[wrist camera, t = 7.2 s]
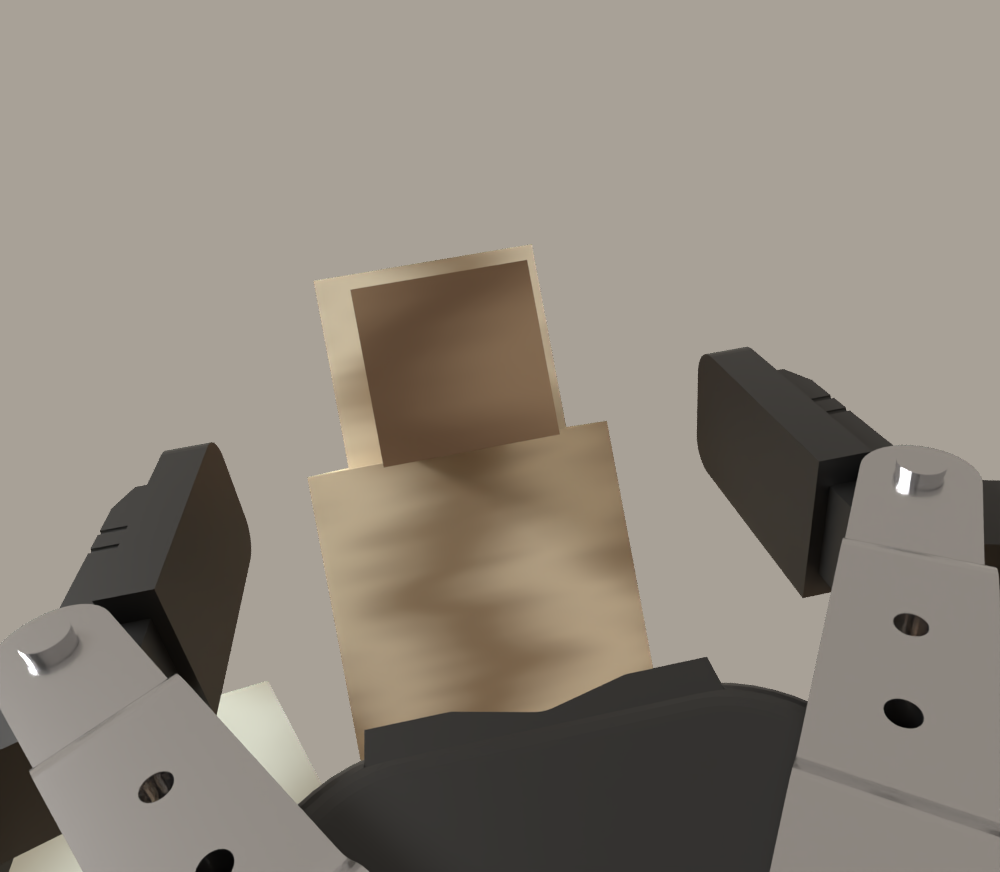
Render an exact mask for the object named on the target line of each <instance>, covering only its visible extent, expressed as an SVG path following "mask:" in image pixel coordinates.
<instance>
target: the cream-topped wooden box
mask: <svg viewBox="0 0 1000 872" xmlns="http://www.w3.org/2000/svg"><path fill="white" fill-rule="evenodd" d="M217 716H218V718H219V719H220V720H221V721H222V722H223V723H224V724H225V725H226V726H227V727H228V729H229V730H230V731H231V732H232V733H233V734H234V735H235V736H236V737H237V739H238V740H239V741H240V742H241V743H242V744H243V745H244V746H245V747H246V748H247V750H248V751H249V752H250V753H251V754H252V755H253V756H254V757H255V758H256V759H257V761H258V762H259V763H260V764H261V765H262V766H263V767H264V768H265V769H266V770H267V772H268V773H269V774H270V775H271V776H272V777H273V778H274V779H275V780H276V781H277V783H278V784H279V785H280V786H281V787H282V788H283V789H284V790H285V791H286V792H287V794H288V795H289V796H290V797H291V798H292V799H293V800H294V801H295V802H296V804H297V805H298V804H299V803H300V802H301V801H302V800H303V799H304V798H305V797H307V796H308V795H309V794H310V793H311V792H312V791H314V790H315V789H316V788H318V787H319V786H320V785H322V784H321V782H320V780H319V778H318V776H317V774H316V772H315V770H314V769H313V766H312V765H311V763H310V761H309V759H308V757H307V755H306V753H305V752H304V749H303V747H302V745H301V744H300V741H299V740H298V738H297V736H296V734H295V732H294V730H293V728H292V726H291V724H290V722H289V720H288V718H287V717H286V715H285V713H284V711H283V709H282V707H281V705H280V703H279V701H278V700H277V697H276V696H275V693H274V692H273V690H272V688H271V686H270V684H269V682H268V681H265V682H262V683H259V684H255V685H252V686H248V687H245V688H242V689H239V690H235V691H232V692H229V693H225V694H222V695H221V698H220V703H219V707H218V712H217ZM9 872H83V871H82V870H81V868H80V866H79V864H78V862H77V860H76V858H75V857H74V855H73V853H72V851H71V849H70V847H69V846H68V844H67V842H66V840H65V838H64V836H63V834H61V835H59V836H57V837H55V838H53V839H51V840H49V841H47V842H45V843H43V844H41V845H39V846H37V847H35V848H33V849H31V850H29V851H27V852H25V853H23V854H21V855H19V856H17V857H15V858H14V859H13V862H12V865H11V867H10V870H9Z"/></svg>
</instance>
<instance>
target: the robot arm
mask: <svg viewBox="0 0 1000 872" xmlns="http://www.w3.org/2000/svg"><path fill="white" fill-rule="evenodd" d="M697 408H698V409H697V442H698V449H699V454H700V457H701V460H702V463H703V465H704V467H705V469H706V471H707V472H708V474H709V475H710V476H711V478H712V479H713V480H714V482H715V483H716V484H717V486H718V487H719V488H720V490H721V491H722V492H723V494H724V495H725V496H726V497H727V499H728V500H729V501H730V503H731V504H732V505H733V507H734V508H735V509H736V511H737V512H738V513H739V515H740V516H741V517H742V519H743V520H744V521H745V523H746V524H747V525H748V526H749V528H750V529H751V530H752V532H753V533H754V534H755V536H756V537H757V538H758V540H759V541H760V542H761V544H762V545H763V546H764V548H765V549H766V550H767V551H768V553H769V554H770V555H771V556H772V558H773V559H774V561H775V562H776V563H777V564H778V566H779V567H780V569H782V571H783V573H784V574H785V575H786V577H787V578H788V579H789V580H790V582H791V583H792V584H793V586H794V587H795V588H796V590H797V591H798V592H799V594H800V595H801V596H802V598H805V597H810V596H815V595H820V594H824V593H829V592H831V595H830V600H829V605H828V609H827V614H826V619H825V623H824V628H823V633H822V638H821V642H820V647H819V652H818V657H817V661H816V666H815V671H814V675H813V680H812V685H811V689H810V694H809V699H808V701H805V700H803V699H800V698H798V697H795V696H792V695H789V694H786V693H783V692H779V691H776V690H773V689H767V688H763V687H758V686H753V685H745V684H736V683H721V682H720V680H719V678H718V677H717V675H716V673H715V671H714V670H713V667H712V665H711V664H710V662H709V660H708V658H707V657H704V658H699V659H695V660H690V661H686V662H681V663H676V664H671V665H667V666H662V667H658V668H653V669H648V670H643V671H638V672H634V673H629V674H625V675H623V676H620V677H618V678H616V679H614V680H612V681H610V682H608V683H605V684H603V685H601V686H599V687H597V688H595V689H592V690H590V691H588V692H586V693H584V694H582V695H580V696H577V697H575V698H573V699H571V700H569V701H567V702H565V703H562V704H560V705H558V706H556V707H554V708H551V709H549V710H546V711H541V712H447V713H442V714H437V715H433V716H428V717H423V718H419V719H414V720H409V721H404V722H400V723H395V724H390V725H386V726H381V727H376V728H372V729H367V730H364V760H362V761H360V762H358V763H356V764H354V765H352V766H350V767H348V768H347V769H345V770H343V771H341V772H340V773H338V774H336V775H335V776H333V777H331V778H330V779H329V780H327V781H326V782H325V783H323V784H322V785H320V786H319V787H318V788H316V789H315V790H314V791H312V792H311V793H310V794H309V795H308V796H307V797H305V798H304V799H303V800H302V801H301V802H300V803H299V804H298V805H297V804H296V802H295V801H294V800H293V799H292V798H291V797H290V796H289V795H288V794H287V792H286V791H285V790H284V789H283V788H282V787H281V786H280V785H279V784H278V783H277V781H276V780H275V779H274V778H273V777H272V776H271V775H270V774H269V773H268V772H267V770H266V769H265V768H264V767H263V766H262V765H261V764H260V763H259V762H258V761H257V759H256V758H255V757H254V756H253V755H252V754H251V753H250V752H249V751H248V750H247V748H246V747H245V746H244V745H243V744H242V743H241V742H240V741H239V740H238V739H237V737H236V736H235V735H234V734H233V733H232V732H231V731H230V730H229V729H228V727H227V726H226V725H225V724H224V723H223V722H222V721H221V720H220V719H219V718H218V716H217V712H218V707H219V703H220V698H221V693H222V689H223V684H224V679H225V675H226V670H227V665H228V661H229V656H230V651H231V647H232V642H233V637H234V633H235V628H236V624H237V619H238V614H239V610H240V605H241V600H242V596H243V591H244V586H245V582H246V577H247V573H248V568H249V563H250V558H251V540H250V533H249V528H248V524H247V521H246V518H245V515H244V513H243V510H242V507H241V504H240V502H239V499H238V497H237V494H236V491H235V488H234V485H233V483H232V480H231V477H230V475H229V472H228V469H227V466H226V464H225V461H224V458H223V456H222V453H221V451H220V450H219V448H218V447H217V445H216V444H215V443H212V442H211V443H206V444H201V445H195V446H189V447H184V448H178V449H173V450H167V451H164V452H163V453H162V455H161V457H160V459H159V461H158V463H157V465H156V467H155V470H154V472H153V474H152V476H151V478H150V480H149V482H148V484H147V485H144V486H139V487H135V488H134V489H133V490H132V491H130V492H129V493H128V494H127V495H126V496H125V497H124V498H123V499H122V500H121V501H120V502H118V503H117V504H116V505H115V506H114V507H113V508H112V509H111V511H110V513H109V515H108V517H107V519H106V521H105V522H104V524H103V526H102V528H101V530H100V532H101V535H98V536H97V538H96V540H95V542H94V543H93V545H92V547H91V553H90V554H88V555H87V557H86V559H85V561H84V562H83V564H82V566H81V568H80V570H79V572H78V574H77V576H76V578H75V580H74V582H73V583H72V585H71V587H70V589H69V591H68V593H67V595H66V597H65V599H64V601H63V603H62V605H61V607H60V608H59V609H56V610H53V611H50V612H48V613H45V614H43V615H41V616H39V617H37V618H35V619H33V620H31V621H30V622H28V623H26V624H25V625H23V626H21V627H20V628H19V629H17V630H16V631H14V632H13V633H12V634H11V635H9V636H8V637H7V638H6V639H5V640H4V641H3V642H2V643H1V644H0V872H9V870H10V867H11V865H12V862H13V859H14V858H15V857H17V856H19V855H21V854H23V853H25V852H27V851H29V850H31V849H33V848H35V847H37V846H39V845H41V844H43V843H45V842H47V841H49V840H51V839H53V838H55V837H57V836H59V835H61V834H63V836H64V838H65V840H66V842H67V844H68V846H69V847H70V849H71V851H72V853H73V855H74V857H75V858H76V860H77V862H78V864H79V866H80V868H81V870H82V871H83V872H1000V481H988V480H982V478H981V476H980V474H979V473H978V471H977V470H976V469H975V468H974V467H973V466H972V465H970V464H969V463H968V462H966V461H964V460H963V459H961V458H959V457H957V456H955V455H953V454H950V453H948V452H945V451H941V450H938V449H934V448H929V447H923V446H914V445H896V446H893V445H892V444H891V443H889V442H888V441H887V440H886V439H884V438H883V437H882V436H881V435H879V434H878V433H877V432H876V431H874V430H873V429H872V428H870V427H869V426H868V425H867V424H866V423H865V422H863V421H862V420H861V419H859V418H858V417H857V416H856V415H854V414H853V413H852V412H851V411H846V408H845V406H843V405H842V404H841V403H840V402H838V401H837V400H836V399H835V398H832V399H831V397H830V394H828V393H827V392H826V391H825V390H823V389H822V388H821V387H820V386H818V385H817V384H816V383H814V382H813V381H812V380H810V379H808V378H805V377H802V376H800V375H797V374H795V373H792V372H789V371H787V370H784V369H782V370H776V369H775V368H774V367H773V366H771V365H770V364H769V363H768V362H767V361H765V360H764V359H763V358H762V357H761V356H759V355H758V354H757V353H756V352H754V350H752V349H751V348H749V347H743V348H738V349H732V350H727V351H722V352H716V353H710V354H705V355H703V356H702V357H701V359H700V362H699V368H698V407H697Z"/></svg>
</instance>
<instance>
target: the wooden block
mask: <svg viewBox="0 0 1000 872" xmlns="http://www.w3.org/2000/svg"><path fill="white" fill-rule="evenodd" d="M559 432H560V434H559V435H554V436H548V437H543V438H538V439H532V440H527V441H522V442H516V443H511V444H506V445H501V446H495V447H490V448H485V449H479V450H474V451H469V452H464V453H458V454H453V455H448V456H442V457H437V458H432V459H427V460H421V461H416V462H411V463H405V464H400V465H395V466H390V467H384V466H383V463H379V464H374V465H368V466H363V467H358V468H353V469H349V468H346V469H342V470H337V471H333V472H329V473H325V474H320V475H316V476H311V477H308V483H309V488H310V493H311V499H312V504H313V509H314V514H315V520H316V525H317V531H318V536H319V541H320V547H321V552H322V557H323V563H324V568H325V573H326V578H327V583H328V589H329V594H330V599H331V605H332V610H333V616H334V621H335V626H336V632H337V637H338V642H339V648H340V653H341V658H342V664H343V669H344V674H345V679H346V685H347V690H348V695H349V701H350V706H351V711H352V717H353V722H354V726H355V733H356V738H357V743H358V749H359V754H360V759H361V761H362V760H364V730H367V729H372V728H376V727H381V726H386V725H390V724H395V723H400V722H404V721H409V720H414V719H419V718H423V717H428V716H433V715H437V714H442V713H447V712H541V711H546V710H549V709H551V708H554V707H556V706H558V705H560V704H562V703H565V702H567V701H569V700H571V699H573V698H575V697H577V696H580V695H582V694H584V693H586V692H588V691H590V690H592V689H595V688H597V687H599V686H601V685H603V684H605V683H608V682H610V681H612V680H614V679H616V678H618V677H620V676H623V675H625V674H629V673H634V672H638V671H643V670H648V669H653V665H652V660H651V655H650V649H649V644H648V638H647V633H646V628H645V622H644V617H643V612H642V607H641V601H640V596H639V590H638V585H637V580H636V575H635V569H634V564H633V559H632V553H631V548H630V542H629V537H628V532H627V526H626V521H625V516H624V510H623V505H622V500H621V495H620V489H619V484H618V479H617V473H616V468H615V462H614V457H613V452H612V446H611V441H610V436H609V431H608V425H607V421H604V422H597V423H590V424H584V425H577V426H570V427H566V428H565V429H559Z"/></svg>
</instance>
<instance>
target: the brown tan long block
mask: <svg viewBox="0 0 1000 872" xmlns="http://www.w3.org/2000/svg"><path fill="white" fill-rule="evenodd" d="M314 285H315V291H316V296H317V302H318V307H319V312H320V318H321V323H322V328H323V333H324V339H325V344H326V349H327V355H328V360H329V365H330V371H331V376H332V381H333V387H334V392H335V397H336V403H337V408H338V413H339V419H340V423H341V428H342V434H343V440H344V445H345V450H346V456H347V461H348V466H349V469H353V468H358V467H363V466H368V465H374V464H379V463H383V466H384V467H390V466H395V465H400V464H405V463H411V462H416V461H421V460H427V459H432V458H437V457H442V456H448V455H453V454H458V453H464V452H469V451H474V450H479V449H485V448H490V447H495V446H501V445H506V444H511V443H516V442H522V441H527V440H532V439H538V438H543V437H548V436H554V435H559V434H560V432H559V429H565V428H566V424H565V418H564V413H563V407H562V402H561V397H560V391H559V387H558V381H557V376H556V371H555V365H554V360H553V355H552V349H551V344H550V338H549V333H548V328H547V322H546V317H545V312H544V306H543V301H542V296H541V291H540V285H539V280H538V274H537V269H536V264H535V259H534V253H533V248H532V244H530V245H524V246H518V247H513V248H507V249H501V250H495V251H489V252H483V253H477V254H471V255H465V256H459V257H454V258H447V259H441V260H435V261H430V262H423V263H417V264H411V265H405V266H399V267H393V268H388V269H381V270H376V271H370V272H364V273H358V274H352V275H346V276H340V277H334V278H328V279H322V280H316V281H314Z"/></svg>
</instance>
